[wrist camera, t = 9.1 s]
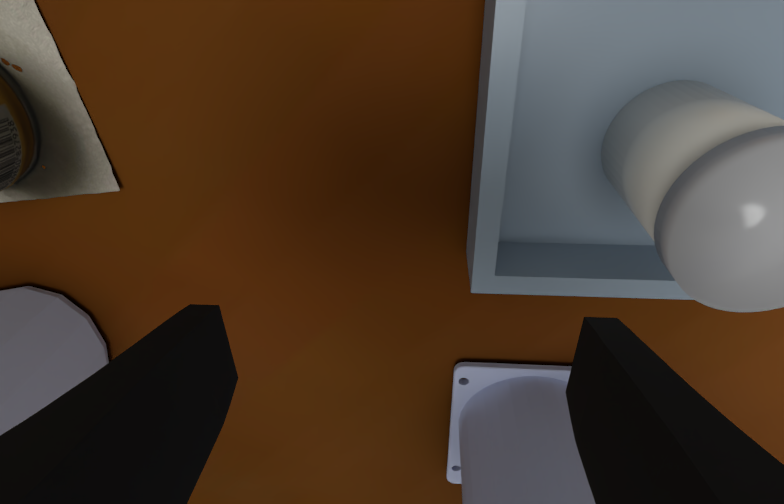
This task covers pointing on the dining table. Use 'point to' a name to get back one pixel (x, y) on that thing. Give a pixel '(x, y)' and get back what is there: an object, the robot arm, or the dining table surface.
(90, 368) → the soap bottle
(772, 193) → the shaker
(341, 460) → the dining table surface
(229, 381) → the robot arm
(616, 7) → the tray
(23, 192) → the condiment
